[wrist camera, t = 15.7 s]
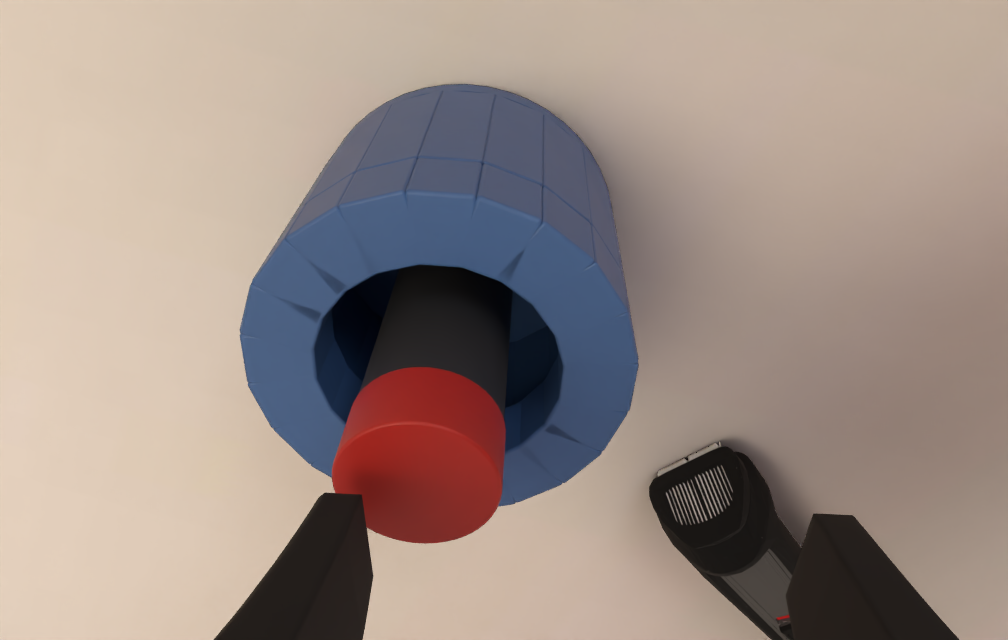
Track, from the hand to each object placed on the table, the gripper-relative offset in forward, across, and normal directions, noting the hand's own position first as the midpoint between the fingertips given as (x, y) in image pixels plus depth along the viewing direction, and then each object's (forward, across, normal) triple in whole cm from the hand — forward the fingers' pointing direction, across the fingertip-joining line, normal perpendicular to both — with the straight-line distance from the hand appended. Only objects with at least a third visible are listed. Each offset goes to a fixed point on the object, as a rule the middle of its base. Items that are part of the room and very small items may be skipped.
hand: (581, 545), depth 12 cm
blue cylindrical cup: (+10, +3, 0) cm, 11 cm away
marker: (+10, +3, 0) cm, 10 cm away
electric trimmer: (+10, -9, +13) cm, 19 cm away
